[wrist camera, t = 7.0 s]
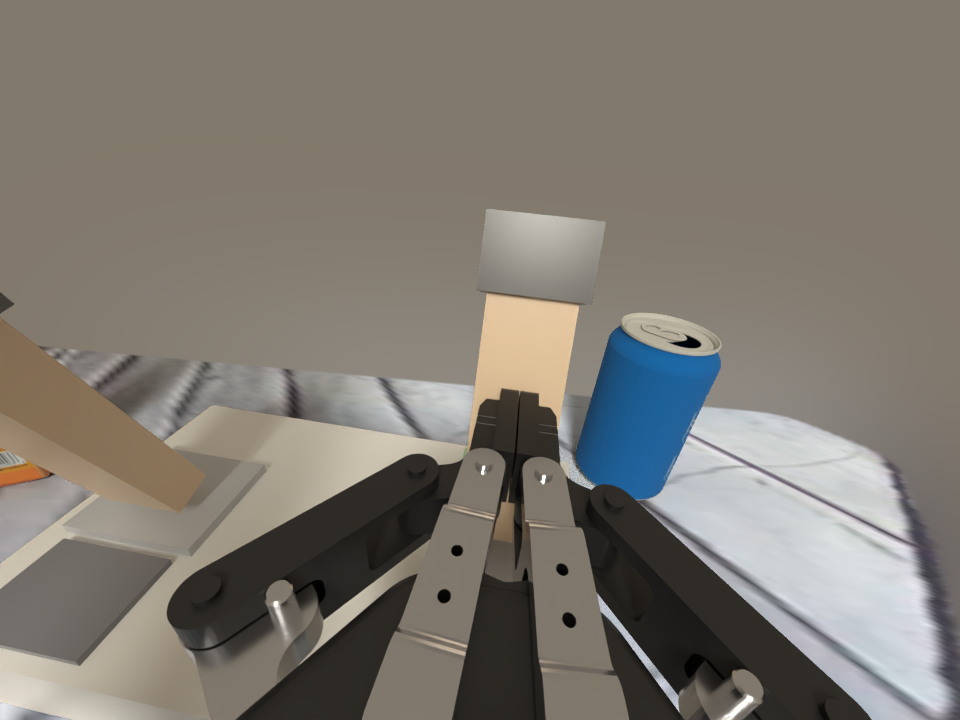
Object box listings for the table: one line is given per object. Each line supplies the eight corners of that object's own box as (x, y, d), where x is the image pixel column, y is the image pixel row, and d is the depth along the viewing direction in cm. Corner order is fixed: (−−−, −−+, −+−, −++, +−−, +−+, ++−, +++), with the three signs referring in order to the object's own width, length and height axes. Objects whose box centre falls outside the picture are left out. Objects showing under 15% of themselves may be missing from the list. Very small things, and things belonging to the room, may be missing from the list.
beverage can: (642, 525, 24) (715, 369, 18) (557, 470, 27) (596, 326, 22) (672, 473, 28) (739, 334, 22) (596, 432, 32) (637, 303, 26)
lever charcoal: (183, 521, 16) (-311, 256, 6) (94, 504, 16) (-523, 225, 6) (218, 470, 18) (-125, 190, 7) (135, 455, 18) (-302, 169, 8)
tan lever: (548, 553, 15) (606, 221, 13) (446, 535, 16) (486, 208, 13) (543, 520, 18) (592, 234, 15) (455, 505, 18) (490, 223, 16)
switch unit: (575, 840, 12) (610, 806, 10) (-37, 693, 14) (-120, 637, 12) (556, 504, 25) (569, 456, 22) (227, 449, 26) (210, 399, 24)
